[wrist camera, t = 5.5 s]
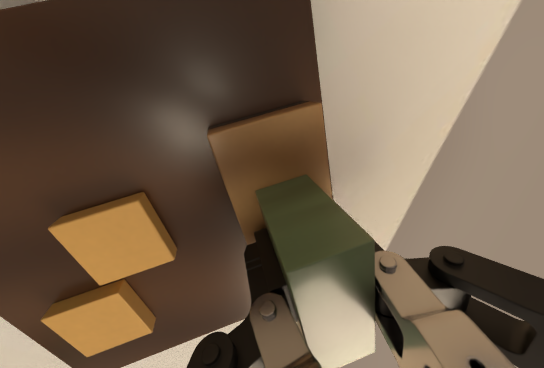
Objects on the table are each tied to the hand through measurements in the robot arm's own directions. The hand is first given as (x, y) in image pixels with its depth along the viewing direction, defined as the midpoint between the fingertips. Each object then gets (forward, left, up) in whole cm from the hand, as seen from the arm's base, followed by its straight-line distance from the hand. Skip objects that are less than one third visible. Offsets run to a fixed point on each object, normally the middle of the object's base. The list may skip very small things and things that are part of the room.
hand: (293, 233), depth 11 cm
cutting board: (-1, -7, -3) cm, 8 cm away
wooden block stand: (0, 0, -2) cm, 2 cm away
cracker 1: (-2, -9, -2) cm, 9 cm away
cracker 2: (+3, -12, -2) cm, 13 cm away
